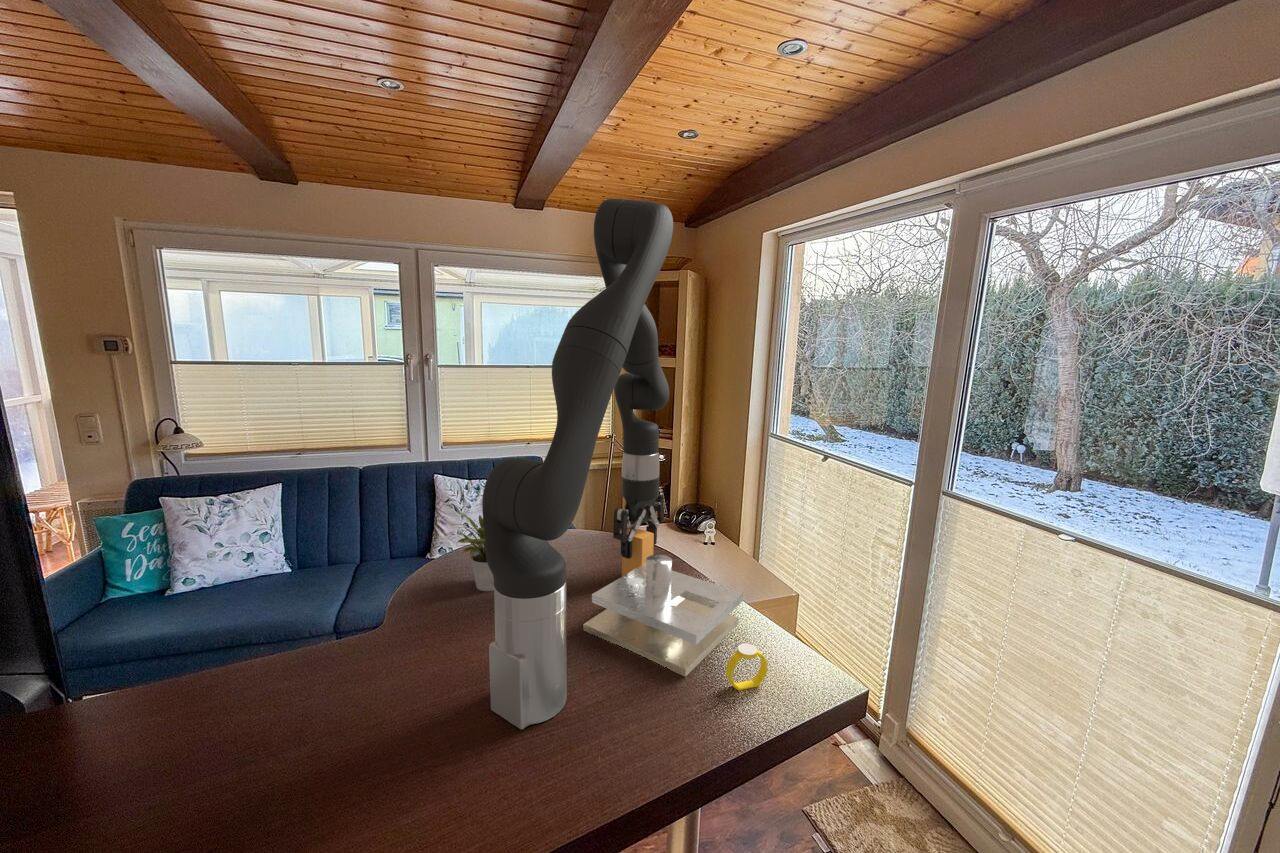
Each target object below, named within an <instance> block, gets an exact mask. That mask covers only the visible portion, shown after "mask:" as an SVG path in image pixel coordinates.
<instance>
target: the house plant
mask: <svg viewBox="0 0 1280 853" xmlns="http://www.w3.org/2000/svg"><path fill="white" fill-rule="evenodd" d="M455 513H456V514H459V515H461V516H462V517H465V519H467V521H468V522H469V523H470V524H471V526H472V527H473V528H474V529H473V528H472V527H470V526H468V525H466V524H463V523H462V524H461V523H454V524H452V526H458V527H457V529H458V528H459V529H460V528H463V529H465V530H467V531H468V532H469V533H470V534H471V536H472V537H473V538H470V537H468V536H467V535H466V534H464V533H461V532H458V531H457V532H455V533H457V534H460V536H463V538H461V539H459V540H458V541H457V542H456V544H458V543H459V544H460V545H459V547H461V546H462V547H463V546H466V548H464V550H462V554H465V553H467V552H469V551H470V552H469V556H468V558H469V559H470V563H471V568H472V572H473V577H474V582H475V587H476V589H477V590H479V591H482V592H494V578H493V574H492V572H491V570H490V568H489V566H488V563H487V558H486V549H485V537H484V525H483V516H482V515H480V514H479V516H478V524H479V527H478V526H477V525H476V524H475V521H473V519H472V518H470V517H469V516H468V515H467V514H465V513H462V512H458V511H455ZM459 526H461V527H459ZM462 526H465V527H462ZM470 529H471V530H472V531H473V532H474V533H476V535H478V537H479V538H477V536H476V535H475V534H474V533H473V532H472V531H471V530H470ZM462 543H463V544H462ZM466 543H470V545H472V546H470V545H468V544H467V545H466Z"/></svg>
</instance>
